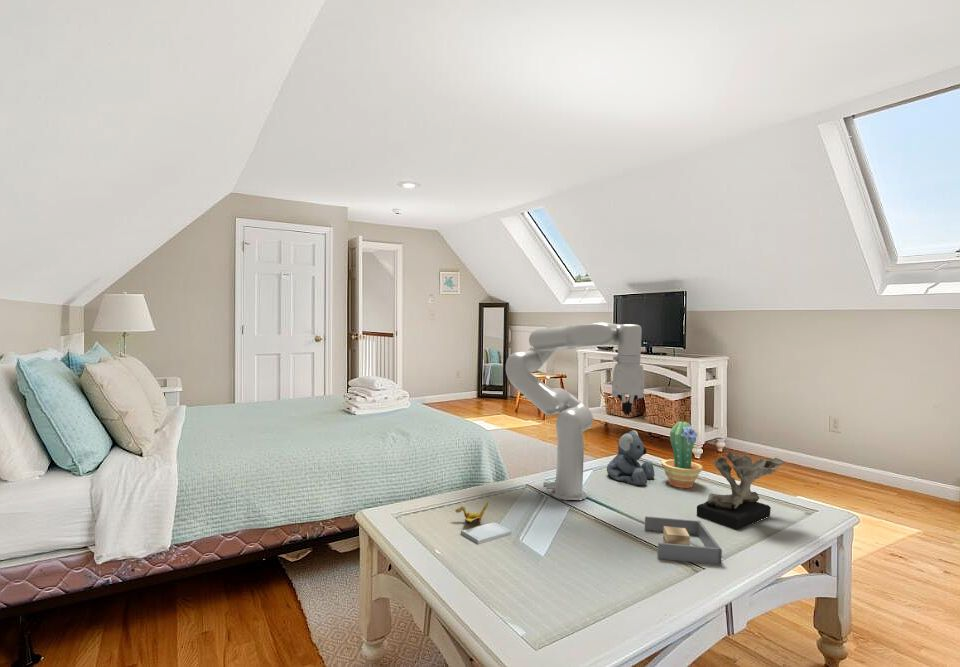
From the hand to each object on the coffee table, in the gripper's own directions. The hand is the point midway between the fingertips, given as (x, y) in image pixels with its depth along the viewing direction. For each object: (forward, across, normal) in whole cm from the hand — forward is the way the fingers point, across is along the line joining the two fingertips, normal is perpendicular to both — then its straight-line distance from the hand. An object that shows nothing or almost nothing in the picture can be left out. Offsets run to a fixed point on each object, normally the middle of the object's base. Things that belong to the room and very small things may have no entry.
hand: (626, 414), depth 174 cm
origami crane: (+32, -48, -25) cm, 63 cm away
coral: (+32, +39, -1) cm, 51 cm away
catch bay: (+32, +12, -28) cm, 44 cm away
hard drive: (+33, -43, -32) cm, 63 cm away
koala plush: (+32, +7, +36) cm, 49 cm away
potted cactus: (+32, +27, +33) cm, 54 cm away
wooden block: (+32, +11, -27) cm, 44 cm away
